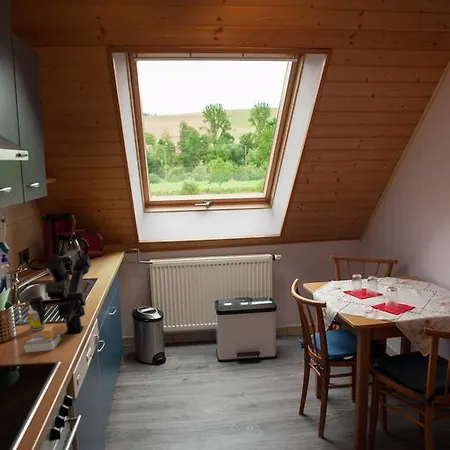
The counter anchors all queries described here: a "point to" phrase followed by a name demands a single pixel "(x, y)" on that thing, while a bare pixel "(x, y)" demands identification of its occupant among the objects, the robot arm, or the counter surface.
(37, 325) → the supplement bottle
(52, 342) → the grey stepped platform
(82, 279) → the robot arm
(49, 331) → the orange block
